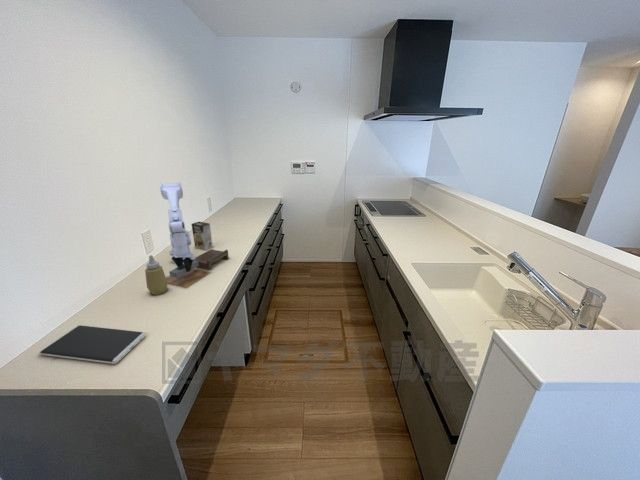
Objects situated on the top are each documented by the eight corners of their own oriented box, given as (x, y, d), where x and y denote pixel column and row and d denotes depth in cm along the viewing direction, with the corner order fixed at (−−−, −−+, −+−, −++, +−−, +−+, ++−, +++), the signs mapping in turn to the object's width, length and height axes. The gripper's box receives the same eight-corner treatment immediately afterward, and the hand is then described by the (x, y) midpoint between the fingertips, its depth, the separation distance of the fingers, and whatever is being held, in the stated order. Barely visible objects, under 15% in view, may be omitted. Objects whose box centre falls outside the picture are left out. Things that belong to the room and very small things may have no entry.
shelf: (191, 266, 143) (190, 257, 141) (212, 255, 158) (210, 246, 155) (209, 270, 140) (208, 260, 138) (228, 258, 154) (227, 249, 152)
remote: (177, 278, 125) (176, 272, 124) (170, 276, 126) (169, 270, 125) (198, 265, 137) (198, 260, 136) (192, 264, 138) (191, 259, 137)
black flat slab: (115, 365, 81) (114, 361, 80) (39, 355, 84) (37, 351, 83) (147, 335, 93) (146, 331, 93) (79, 328, 96) (77, 324, 95)
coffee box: (194, 247, 167) (190, 223, 161) (202, 244, 173) (198, 221, 167) (205, 250, 164) (202, 225, 158) (213, 246, 170) (210, 223, 164)
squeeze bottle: (173, 288, 122) (165, 253, 116) (157, 298, 115) (149, 261, 109) (159, 285, 125) (152, 250, 118) (144, 294, 117) (135, 258, 111)
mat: (160, 281, 128) (160, 280, 128) (186, 267, 142) (185, 266, 142) (186, 287, 123) (186, 287, 123) (210, 272, 137) (210, 272, 137)
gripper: (161, 245, 125) (167, 271, 130) (185, 250, 121) (190, 276, 126) (173, 240, 131) (178, 265, 136) (197, 244, 127) (201, 269, 132)
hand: (184, 270), depth 131 cm, fingers closed on remote, 4 cm apart
